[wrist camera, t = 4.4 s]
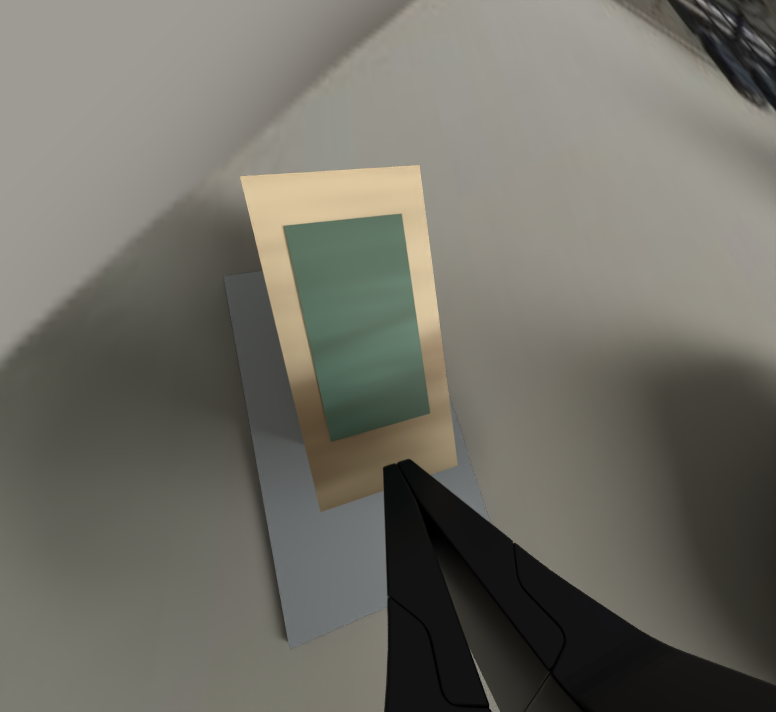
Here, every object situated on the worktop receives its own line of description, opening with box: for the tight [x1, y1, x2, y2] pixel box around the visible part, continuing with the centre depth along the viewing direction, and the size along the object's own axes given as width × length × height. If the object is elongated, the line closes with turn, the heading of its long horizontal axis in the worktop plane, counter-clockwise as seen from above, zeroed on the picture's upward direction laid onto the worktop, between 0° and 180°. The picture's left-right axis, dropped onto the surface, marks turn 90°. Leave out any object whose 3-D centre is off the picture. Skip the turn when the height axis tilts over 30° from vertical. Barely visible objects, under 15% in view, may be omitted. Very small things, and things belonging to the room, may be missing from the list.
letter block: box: [240, 165, 458, 512], centre depth 12 cm, size 5×5×10 cm
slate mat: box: [223, 271, 490, 649], centre depth 16 cm, size 17×10×1 cm, turn 15°
